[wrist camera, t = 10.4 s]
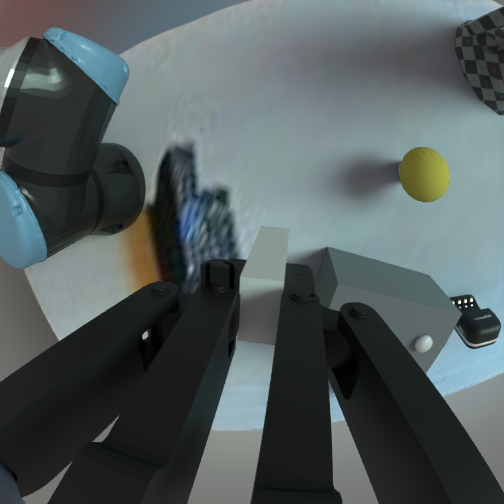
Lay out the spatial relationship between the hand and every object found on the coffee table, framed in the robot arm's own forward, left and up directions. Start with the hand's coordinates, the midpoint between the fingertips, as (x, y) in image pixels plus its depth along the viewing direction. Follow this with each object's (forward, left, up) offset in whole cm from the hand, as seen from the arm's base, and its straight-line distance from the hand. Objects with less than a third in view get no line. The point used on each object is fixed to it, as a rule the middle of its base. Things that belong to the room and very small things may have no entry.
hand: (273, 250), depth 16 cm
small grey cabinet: (+17, -12, -24) cm, 32 cm away
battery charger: (+35, -9, -24) cm, 43 cm away
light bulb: (+16, +8, -24) cm, 30 cm away
